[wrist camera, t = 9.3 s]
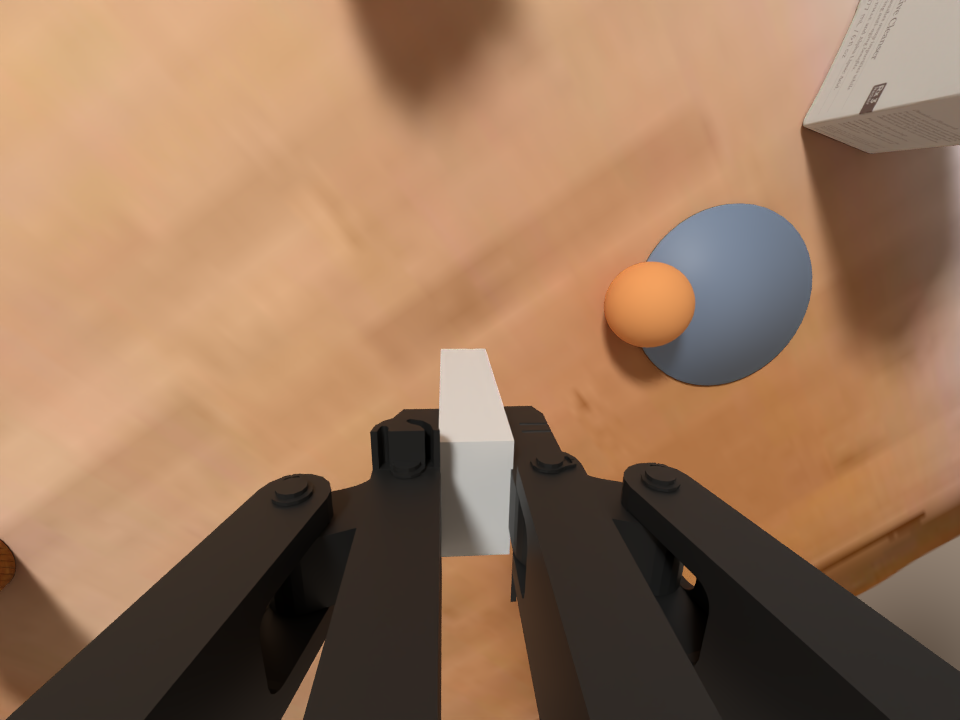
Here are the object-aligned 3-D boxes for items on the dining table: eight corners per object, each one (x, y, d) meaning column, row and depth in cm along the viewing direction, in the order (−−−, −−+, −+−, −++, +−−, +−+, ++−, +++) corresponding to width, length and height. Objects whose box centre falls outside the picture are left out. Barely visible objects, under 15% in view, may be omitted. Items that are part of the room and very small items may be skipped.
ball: (704, 358, 28) (622, 359, 27) (655, 334, 33) (585, 334, 32) (724, 269, 26) (638, 266, 25) (670, 258, 31) (596, 255, 30)
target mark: (787, 383, 35) (789, 384, 34) (623, 385, 34) (624, 386, 33) (830, 205, 31) (832, 205, 30) (645, 201, 30) (646, 201, 29)
